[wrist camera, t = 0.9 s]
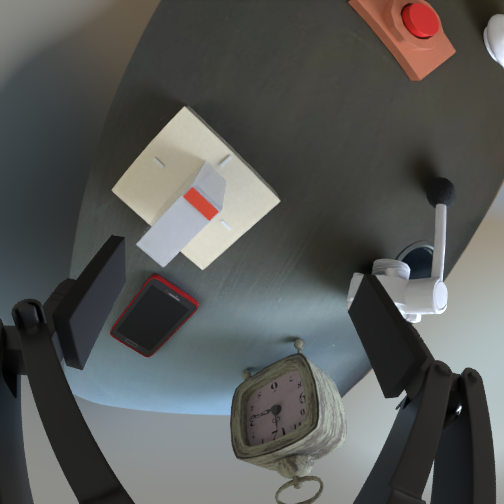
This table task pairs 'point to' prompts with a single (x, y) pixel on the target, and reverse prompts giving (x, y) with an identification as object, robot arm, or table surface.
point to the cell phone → (153, 316)
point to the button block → (405, 36)
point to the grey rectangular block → (184, 215)
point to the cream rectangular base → (181, 168)
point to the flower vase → (495, 38)
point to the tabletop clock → (287, 419)
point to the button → (420, 20)
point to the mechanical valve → (397, 273)
